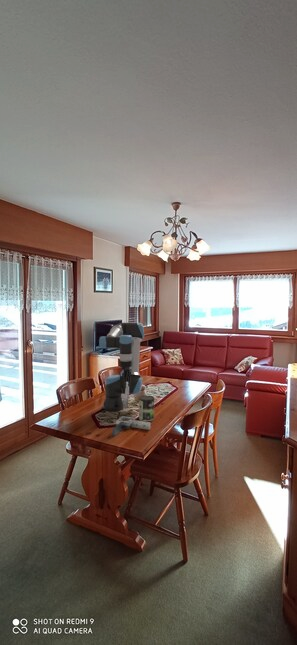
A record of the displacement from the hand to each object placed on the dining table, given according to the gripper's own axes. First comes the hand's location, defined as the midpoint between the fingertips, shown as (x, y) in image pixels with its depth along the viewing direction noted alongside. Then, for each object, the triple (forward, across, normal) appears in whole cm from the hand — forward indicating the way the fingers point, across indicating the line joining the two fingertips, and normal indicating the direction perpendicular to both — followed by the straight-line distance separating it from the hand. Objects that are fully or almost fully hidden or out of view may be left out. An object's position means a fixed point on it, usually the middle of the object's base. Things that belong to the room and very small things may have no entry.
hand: (125, 397), depth 191 cm
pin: (+6, 0, 0) cm, 6 cm away
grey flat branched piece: (+18, -6, -6) cm, 20 cm away
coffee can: (+18, +16, -8) cm, 25 cm away
